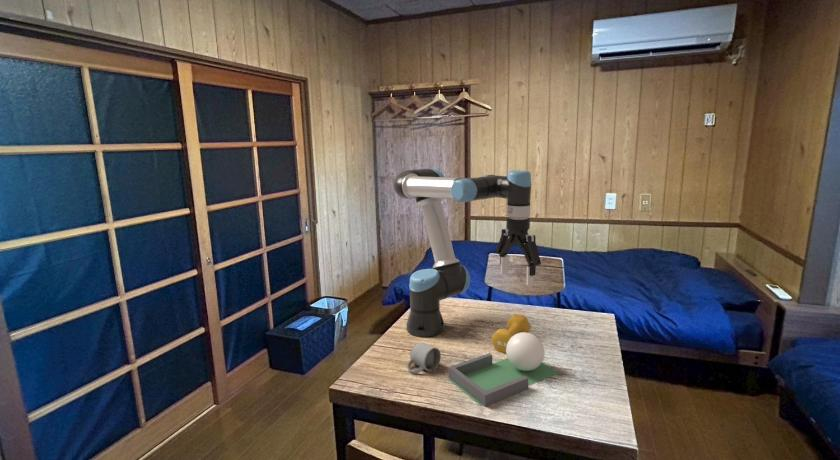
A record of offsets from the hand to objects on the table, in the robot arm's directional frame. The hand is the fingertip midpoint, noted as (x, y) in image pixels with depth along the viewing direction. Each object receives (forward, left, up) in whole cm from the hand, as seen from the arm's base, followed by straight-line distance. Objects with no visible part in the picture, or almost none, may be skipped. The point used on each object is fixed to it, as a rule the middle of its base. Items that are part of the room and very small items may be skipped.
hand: (516, 279), depth 147 cm
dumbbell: (-4, +2, -27) cm, 27 cm away
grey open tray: (+12, -22, -26) cm, 36 cm away
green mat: (+12, -15, -26) cm, 33 cm away
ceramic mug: (-7, -34, -26) cm, 44 cm away
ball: (+12, -7, -20) cm, 24 cm away
